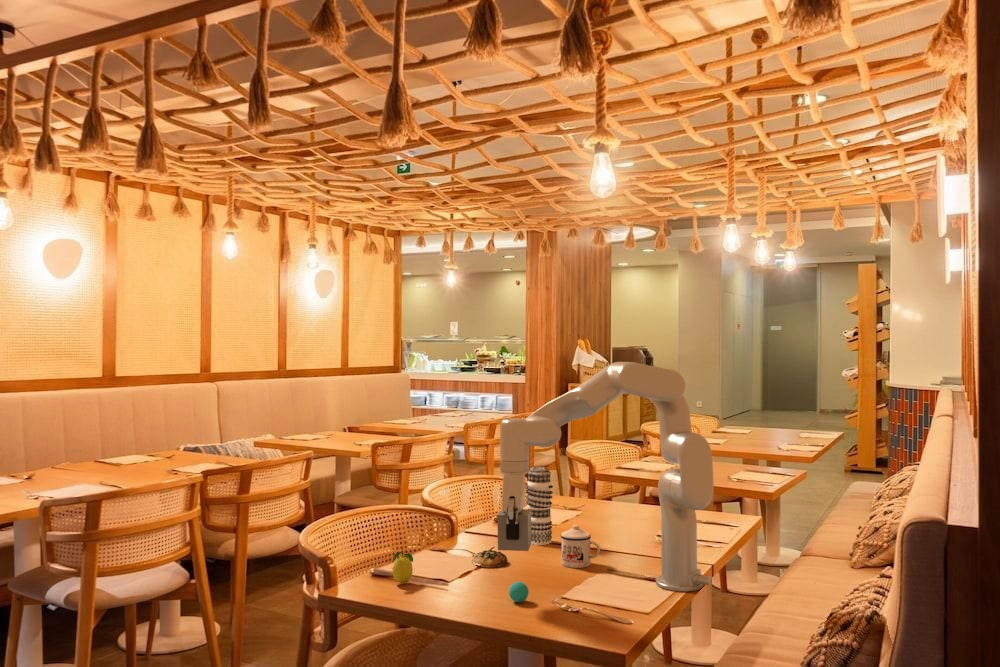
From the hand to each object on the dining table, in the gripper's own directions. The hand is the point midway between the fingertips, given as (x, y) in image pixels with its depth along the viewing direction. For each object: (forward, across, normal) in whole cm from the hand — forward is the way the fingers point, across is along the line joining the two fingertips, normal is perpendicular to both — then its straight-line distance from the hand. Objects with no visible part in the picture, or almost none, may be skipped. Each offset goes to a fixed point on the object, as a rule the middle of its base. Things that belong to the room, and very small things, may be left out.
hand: (514, 535), depth 192 cm
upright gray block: (+3, 0, 0) cm, 3 cm away
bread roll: (+17, -34, -12) cm, 40 cm away
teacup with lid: (+17, -36, +15) cm, 43 cm away
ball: (+14, 0, +1) cm, 14 cm away
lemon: (+17, -10, -33) cm, 38 cm away
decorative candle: (+17, -62, 0) cm, 65 cm away
